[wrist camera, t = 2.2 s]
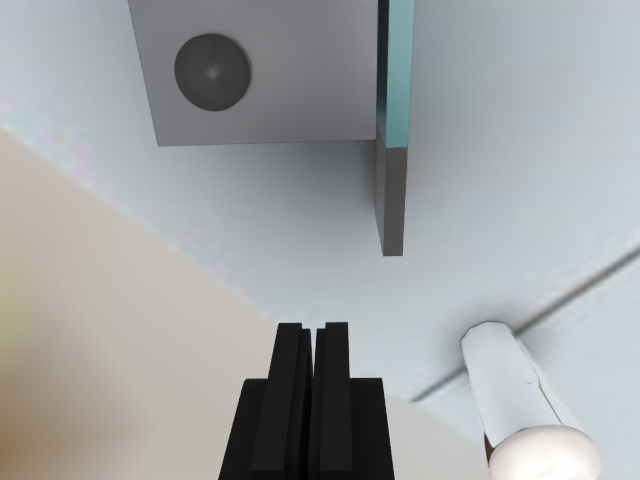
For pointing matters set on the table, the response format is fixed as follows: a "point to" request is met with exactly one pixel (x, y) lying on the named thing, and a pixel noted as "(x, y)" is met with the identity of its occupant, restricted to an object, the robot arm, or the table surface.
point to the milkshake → (523, 412)
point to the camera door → (392, 119)
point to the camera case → (258, 69)
